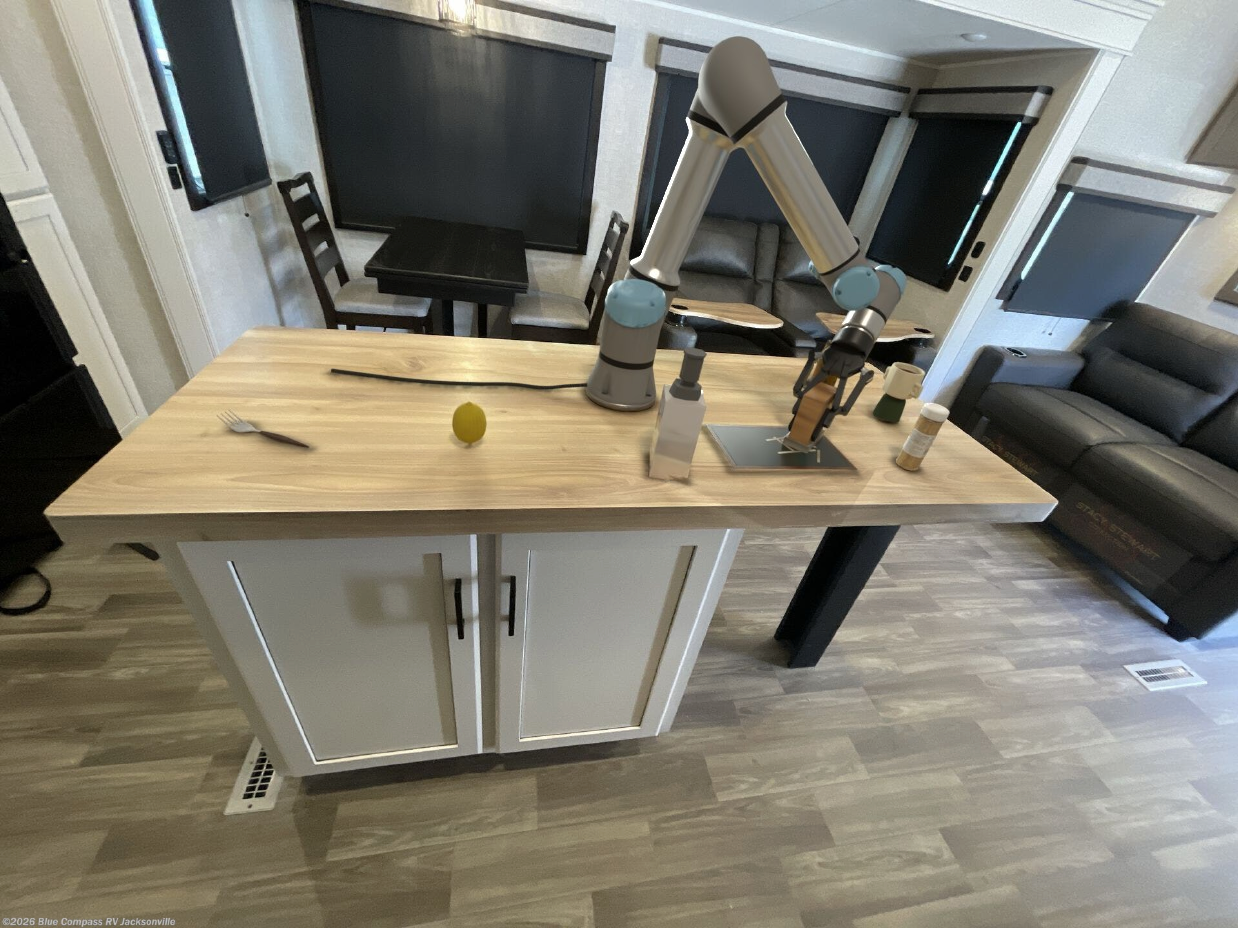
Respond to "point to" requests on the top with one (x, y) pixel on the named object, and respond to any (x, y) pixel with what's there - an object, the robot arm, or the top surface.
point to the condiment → (830, 380)
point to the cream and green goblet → (898, 390)
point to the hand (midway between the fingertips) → (801, 433)
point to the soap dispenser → (679, 420)
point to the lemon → (469, 422)
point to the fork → (248, 428)
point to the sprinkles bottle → (922, 436)
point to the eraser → (810, 417)
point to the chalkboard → (773, 449)
